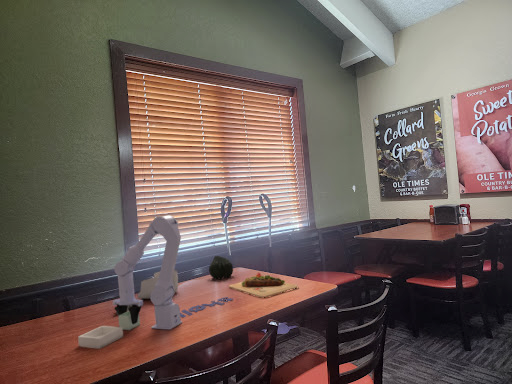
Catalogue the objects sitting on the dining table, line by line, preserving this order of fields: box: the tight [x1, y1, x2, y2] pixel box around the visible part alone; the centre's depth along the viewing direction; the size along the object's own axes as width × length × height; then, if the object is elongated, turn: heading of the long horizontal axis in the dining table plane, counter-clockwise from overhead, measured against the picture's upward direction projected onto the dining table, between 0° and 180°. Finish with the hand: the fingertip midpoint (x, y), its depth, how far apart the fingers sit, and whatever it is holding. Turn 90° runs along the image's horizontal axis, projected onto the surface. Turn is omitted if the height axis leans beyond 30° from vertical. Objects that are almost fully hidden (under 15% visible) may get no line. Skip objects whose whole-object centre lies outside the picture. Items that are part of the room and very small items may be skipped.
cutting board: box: [228, 271, 299, 298], centre depth 179 cm, size 35×23×8 cm
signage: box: [180, 296, 234, 318], centre depth 155 cm, size 28×1×10 cm
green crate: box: [118, 311, 141, 331], centre depth 137 cm, size 5×6×6 cm
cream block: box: [137, 269, 179, 300], centre depth 185 cm, size 20×19×12 cm
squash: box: [208, 255, 234, 280], centre depth 214 cm, size 14×15×15 cm
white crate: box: [77, 325, 124, 350], centre depth 124 cm, size 11×11×4 cm
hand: (129, 322), depth 137 cm, fingers closed on green crate, 5 cm apart
